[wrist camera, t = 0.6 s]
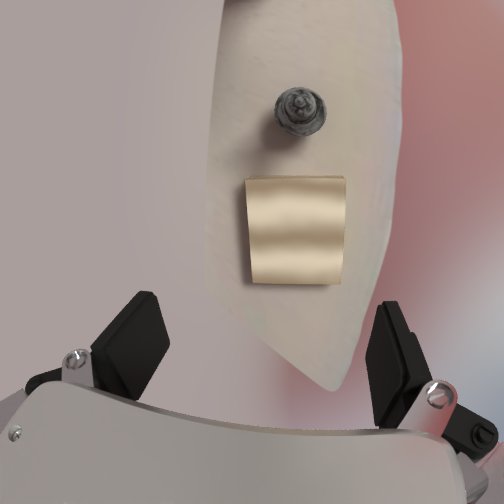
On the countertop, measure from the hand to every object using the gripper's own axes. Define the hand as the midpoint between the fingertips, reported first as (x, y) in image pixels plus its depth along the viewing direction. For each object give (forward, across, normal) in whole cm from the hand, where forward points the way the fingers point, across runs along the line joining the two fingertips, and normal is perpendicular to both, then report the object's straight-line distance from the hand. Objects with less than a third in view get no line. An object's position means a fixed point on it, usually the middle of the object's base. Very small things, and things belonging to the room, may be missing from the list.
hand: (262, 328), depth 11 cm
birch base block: (+27, -1, +5) cm, 27 cm away
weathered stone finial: (+27, -2, -10) cm, 29 cm away
